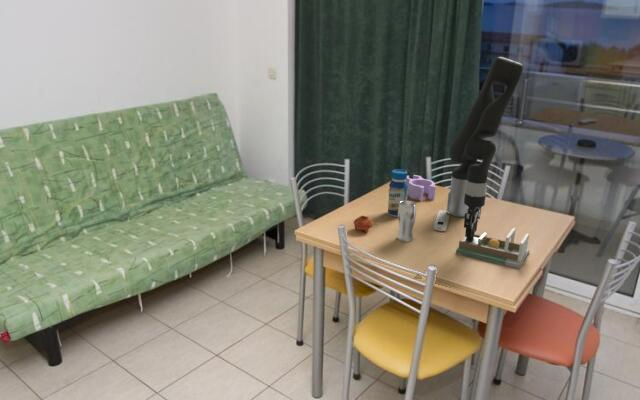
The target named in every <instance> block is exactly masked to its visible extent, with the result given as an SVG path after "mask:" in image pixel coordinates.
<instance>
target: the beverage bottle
mask: <svg viewBox="0 0 640 400" xmlns="http://www.w3.org/2000/svg"><path fill="white" fill-rule="evenodd" d="M390 176H391V180H390V182H389V186H388V187H389V189H388V203H387V204H388V205H387V206H388V207H387V214H388V215H389V216H390V217H396V218H398V208H399V202H401V201H408V190H407V188H408V184H407V182H406V179H407V176H408V171H407V170H405V169H401V168H400V169H399V168H398V169H397V168H396V169H393V170H391V175H390Z"/></svg>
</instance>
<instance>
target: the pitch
mask: <svg viewBox="0 0 640 400" xmlns="http://www.w3.org/2000/svg"><path fill="white" fill-rule="evenodd" d="M516 230H517V229H516V227H512V229H511V230H510V231H509V232H508V234H507V235H506V237H505V239H500V238H496V237H491V236H487V237H486V243H485V244H484V246H482V245H478V244H473V243H469V242H465V241H463V240H459V241H458V247H457V248H456V249H455V250H456V252H455V254H458V255H463V256H466V257H470V258H474V259H479V260H483V261H487V262H491V263H494V264H499V265H503V266H507V267H511V268H514V269H520V268H521V267H522V265H523V263H524V262H525V260H526V258H527V256H528V255H529V253H530V247H529V248H528V246H529V245H528V244H529V238H530V233H526V234H524V236H523V237H522V239H521V241H520V242H515V235H516ZM481 235H482V234H477V233H475V234H474V237H477V238H479V237H480V236H481ZM491 239H496V240H498V241H499V247H498V248H497V249H495V248H491V247H489V246H488V242H489V241H490V240H491Z"/></svg>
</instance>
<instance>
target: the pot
mask: <svg viewBox="0 0 640 400" xmlns="http://www.w3.org/2000/svg"><path fill="white" fill-rule="evenodd" d="M353 225H354V230H355V231H357V230H360V231H364V232H365V234H367V233H368V231H369V229H371V228H372V227H373V225H374V222H373V220H372V219H371V218H369V217H368V216H366V215H360V216H359V217H357V218H355V219H354V221H353Z"/></svg>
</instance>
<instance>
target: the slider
mask: <svg viewBox="0 0 640 400" xmlns="http://www.w3.org/2000/svg"><path fill="white" fill-rule="evenodd" d="M472 220H473V219H472ZM476 221H477V218H476V220H475V223H473V228H472V235H471V237H470V238H469V237H466V236H465V237H464V238H463V239H462V241H465V242H469V243H473V244H478V245H482V246H484V244H485V243H486V237H488V235H487V234H488V233H487V232H483V233H482V234H480V235H481V236H480V237H479V238H477V237H474V234H476V232H475V225H476ZM468 225H469V223H468Z"/></svg>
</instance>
